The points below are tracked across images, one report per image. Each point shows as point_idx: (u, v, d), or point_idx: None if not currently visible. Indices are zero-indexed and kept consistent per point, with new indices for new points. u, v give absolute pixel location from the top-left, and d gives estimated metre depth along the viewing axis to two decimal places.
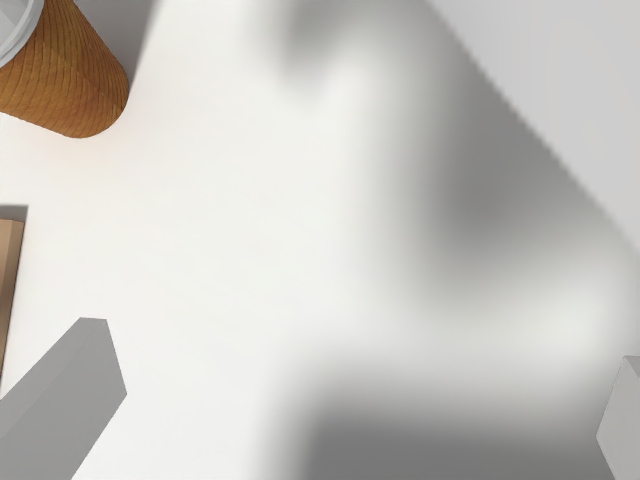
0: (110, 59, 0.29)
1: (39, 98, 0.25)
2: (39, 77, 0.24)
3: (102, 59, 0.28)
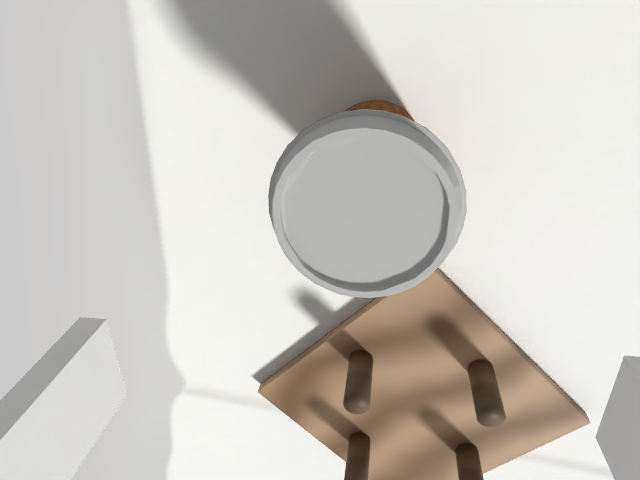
0: (399, 110, 0.29)
1: None
2: None
3: (411, 119, 0.27)
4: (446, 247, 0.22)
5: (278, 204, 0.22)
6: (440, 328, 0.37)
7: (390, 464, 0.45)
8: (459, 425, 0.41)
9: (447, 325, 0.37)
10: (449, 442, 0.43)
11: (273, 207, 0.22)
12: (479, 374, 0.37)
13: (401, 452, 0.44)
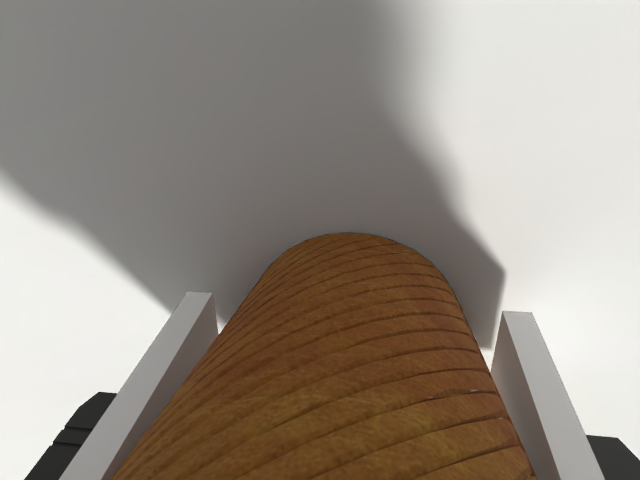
0: (416, 290, 0.11)
1: None
2: None
3: (453, 337, 0.10)
4: None
5: None
6: None
7: None
8: None
9: None
10: None
11: None
12: None
13: None
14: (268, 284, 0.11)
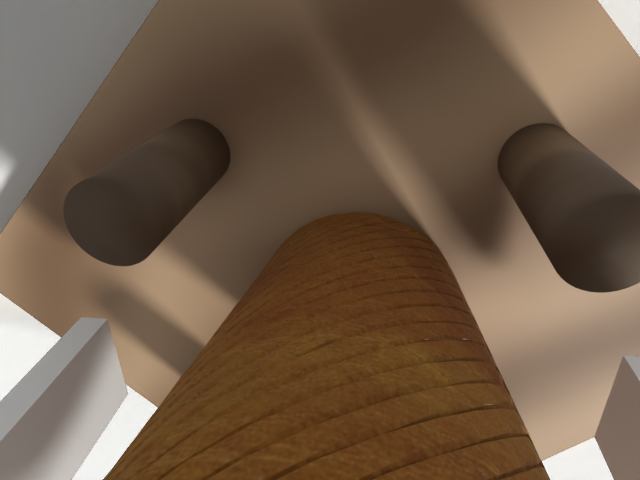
0: (416, 260, 0.12)
1: None
2: None
3: (448, 298, 0.11)
4: None
5: None
6: (416, 9, 0.12)
7: None
8: None
9: None
10: None
11: None
12: (543, 145, 0.11)
13: None
14: (283, 256, 0.13)
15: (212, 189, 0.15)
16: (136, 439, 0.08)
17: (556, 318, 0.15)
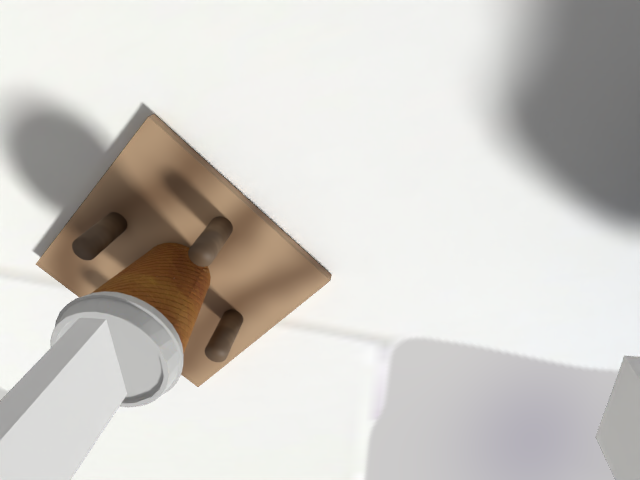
0: (177, 258, 0.40)
1: (192, 325, 0.38)
2: (187, 325, 0.36)
3: (179, 269, 0.39)
4: (165, 379, 0.33)
5: None
6: (175, 184, 0.39)
7: None
8: (219, 290, 0.44)
9: (181, 181, 0.39)
10: (215, 309, 0.45)
11: None
12: (208, 225, 0.39)
13: None
14: (140, 257, 0.40)
15: (122, 234, 0.42)
16: None
17: (244, 279, 0.43)
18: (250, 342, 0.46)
